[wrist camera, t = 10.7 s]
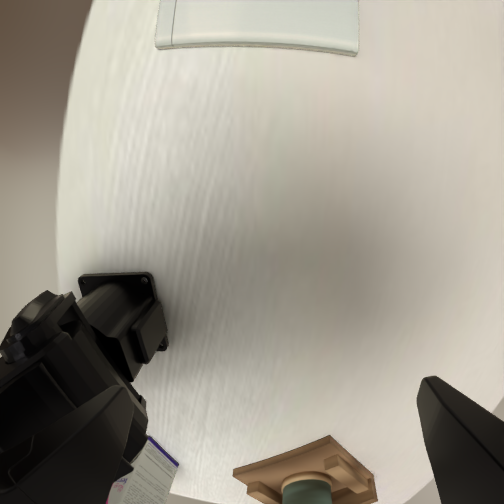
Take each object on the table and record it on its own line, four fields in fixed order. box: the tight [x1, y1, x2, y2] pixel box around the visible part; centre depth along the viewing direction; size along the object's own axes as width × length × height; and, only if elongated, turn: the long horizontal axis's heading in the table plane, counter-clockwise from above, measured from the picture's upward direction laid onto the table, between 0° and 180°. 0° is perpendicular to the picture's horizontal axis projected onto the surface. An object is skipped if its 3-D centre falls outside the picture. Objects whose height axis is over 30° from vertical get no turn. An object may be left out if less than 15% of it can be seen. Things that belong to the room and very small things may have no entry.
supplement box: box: [106, 437, 179, 504], centre depth 24 cm, size 6×6×12 cm
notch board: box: [233, 435, 378, 504], centre depth 27 cm, size 11×12×4 cm
